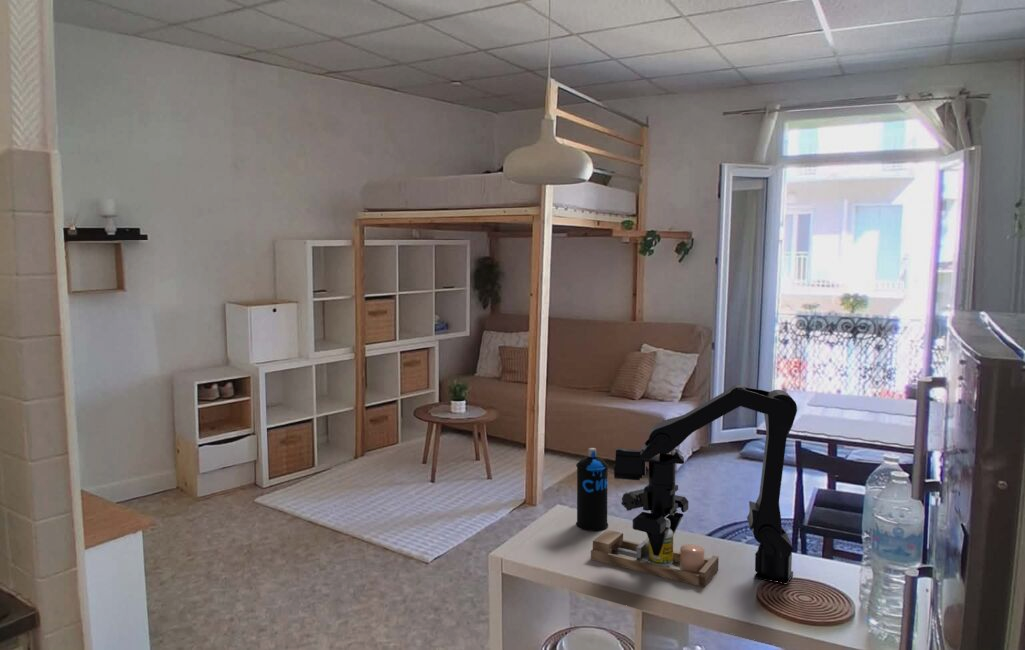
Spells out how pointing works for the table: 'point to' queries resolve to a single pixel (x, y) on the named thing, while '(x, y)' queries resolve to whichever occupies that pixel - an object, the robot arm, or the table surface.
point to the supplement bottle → (664, 550)
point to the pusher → (641, 551)
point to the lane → (615, 541)
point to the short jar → (691, 558)
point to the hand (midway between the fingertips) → (661, 550)
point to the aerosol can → (592, 492)
